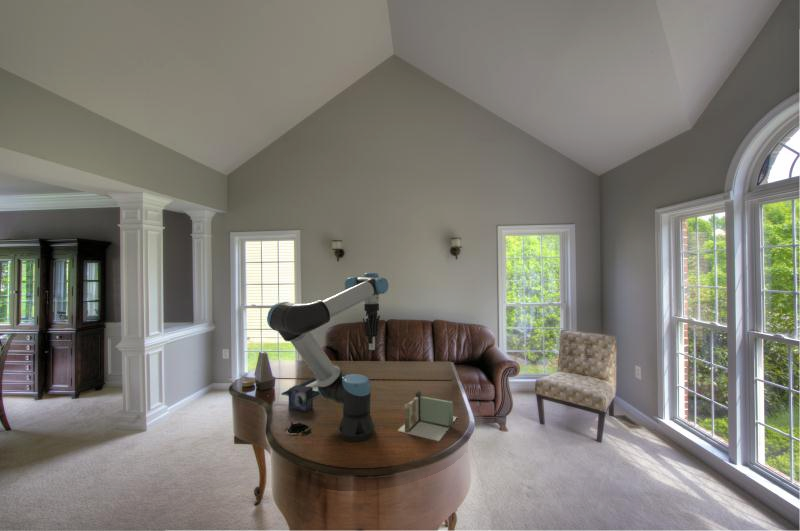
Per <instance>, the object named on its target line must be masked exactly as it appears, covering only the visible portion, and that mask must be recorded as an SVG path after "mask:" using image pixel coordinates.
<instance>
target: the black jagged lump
mask: <svg viewBox="0 0 800 531" xmlns="http://www.w3.org/2000/svg"><path fill="white" fill-rule="evenodd" d="M289 427H290V428H289V429H287V428H286V429H287V430H288V432H289V433H297V434H298V433H300V432H301V433H300V434H301V436H304V435H303V434H306V435H308V434H310V433H311V432H312V428H310V426H309V425H307V424H304V423H302V422H298V423H293V421H290V426H289ZM308 427H309V429H308ZM305 429H306V430H305ZM302 431H303V432H302ZM310 431H311V432H310ZM309 432H310V433H309ZM307 433H308V434H307ZM298 435H299V434H298Z"/></svg>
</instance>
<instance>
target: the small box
mask: <svg viewBox="0 0 800 531" xmlns="http://www.w3.org/2000/svg"><path fill="white" fill-rule="evenodd" d="M299 385H300V384H295V385H293V386H291V387H289V389H288V390H289V396H288V410H290V411H295V412H296V411H297V412H302V411H303V413H307V412H309V411H310V410H311V409H313V408H314V405H313V400H314V399H313V387H307V386H299Z"/></svg>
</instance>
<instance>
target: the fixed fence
mask: <svg viewBox="0 0 800 531" xmlns="http://www.w3.org/2000/svg"><path fill="white" fill-rule="evenodd" d="M414 394H415V397H414V398H413V399H412V400H410V401H409V402H408V403H405V404H404V424H405V432H409V429H410V428H411V427H412V426H413V425H414V424H415V423H416V422H417V421H420V420H421V416H420V397H421V395H422V392H421V391H419V390H417V391H415V393H414Z"/></svg>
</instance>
